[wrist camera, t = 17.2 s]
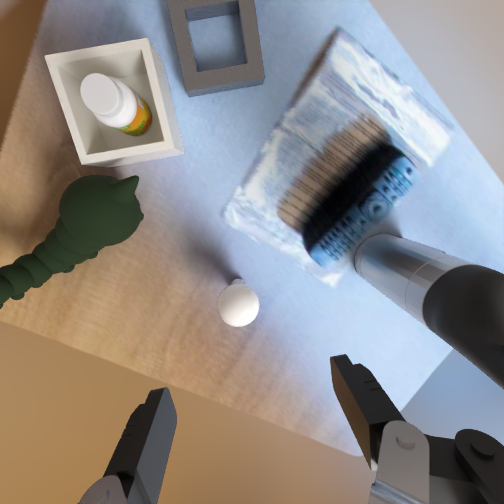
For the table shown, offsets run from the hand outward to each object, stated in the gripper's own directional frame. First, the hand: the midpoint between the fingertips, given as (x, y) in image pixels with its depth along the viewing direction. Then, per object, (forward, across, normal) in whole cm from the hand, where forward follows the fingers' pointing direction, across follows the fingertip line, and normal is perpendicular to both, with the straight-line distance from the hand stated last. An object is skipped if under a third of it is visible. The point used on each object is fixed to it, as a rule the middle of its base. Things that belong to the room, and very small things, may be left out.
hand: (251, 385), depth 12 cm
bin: (+32, +12, -21) cm, 40 cm away
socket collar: (+32, -2, -28) cm, 43 cm away
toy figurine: (+32, +22, -6) cm, 40 cm away
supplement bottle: (+31, +12, -21) cm, 39 cm away
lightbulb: (+32, +2, +8) cm, 33 cm away
